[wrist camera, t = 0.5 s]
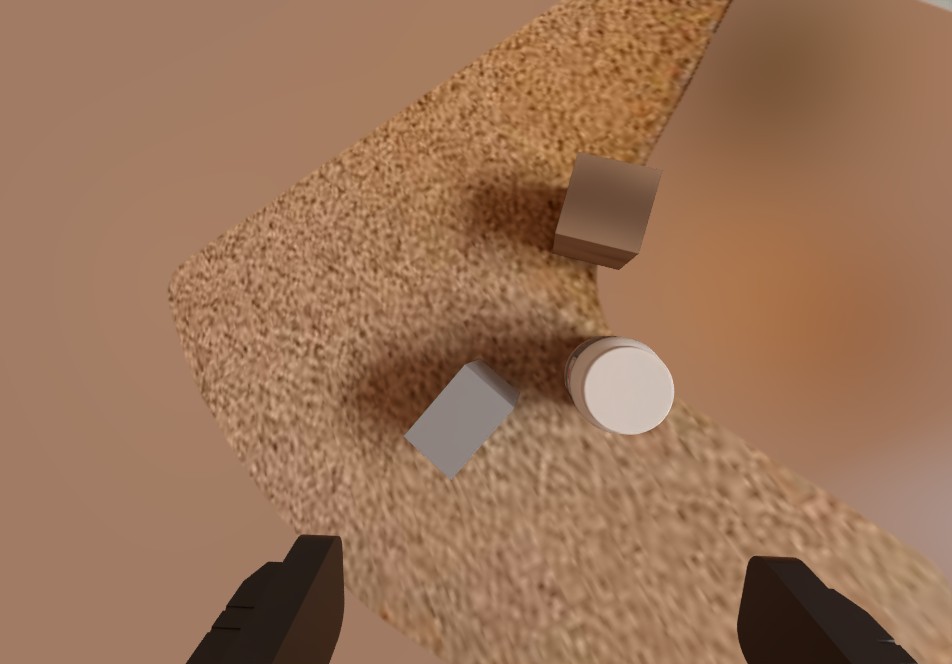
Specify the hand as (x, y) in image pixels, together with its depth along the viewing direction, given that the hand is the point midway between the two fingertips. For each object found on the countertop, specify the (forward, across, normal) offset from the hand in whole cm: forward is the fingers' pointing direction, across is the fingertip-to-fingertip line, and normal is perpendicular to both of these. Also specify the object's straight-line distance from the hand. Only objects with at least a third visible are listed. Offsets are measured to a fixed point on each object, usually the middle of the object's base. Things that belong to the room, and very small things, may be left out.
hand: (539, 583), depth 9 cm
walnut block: (+27, -7, -7) cm, 29 cm away
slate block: (+26, +2, +6) cm, 26 cm away
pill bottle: (+25, -8, +3) cm, 26 cm away
